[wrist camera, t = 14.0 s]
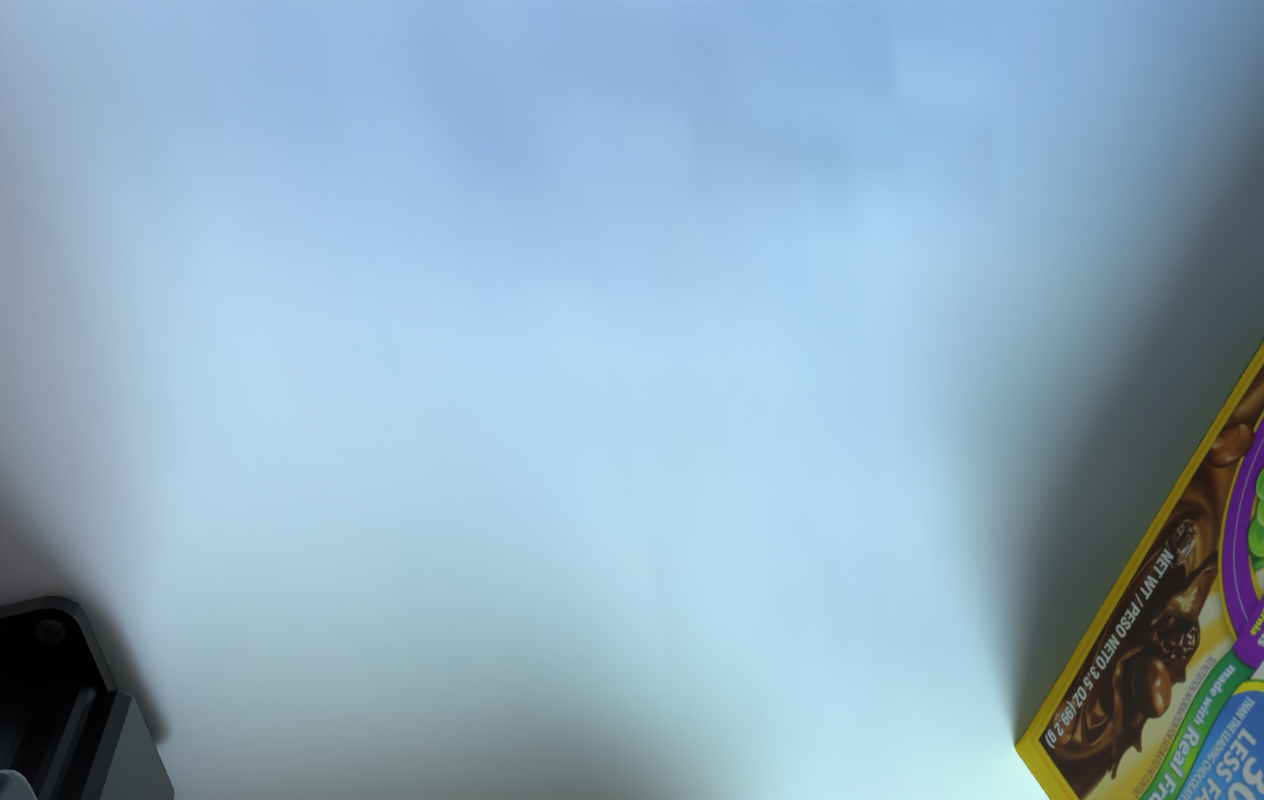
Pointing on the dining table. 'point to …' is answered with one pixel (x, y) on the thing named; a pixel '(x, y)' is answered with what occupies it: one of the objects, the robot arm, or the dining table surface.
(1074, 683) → the candy box
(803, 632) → the dining table surface
